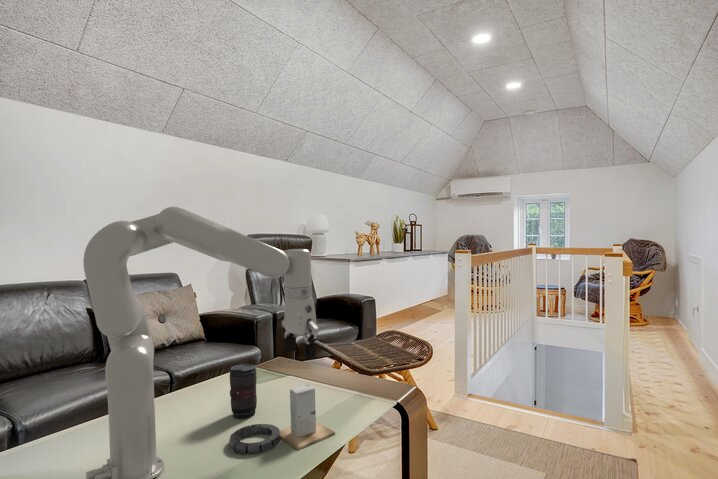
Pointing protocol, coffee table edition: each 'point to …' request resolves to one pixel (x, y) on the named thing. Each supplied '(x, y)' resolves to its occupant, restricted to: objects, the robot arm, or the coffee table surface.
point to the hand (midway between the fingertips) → (300, 354)
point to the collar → (257, 446)
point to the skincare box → (302, 410)
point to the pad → (305, 436)
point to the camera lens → (243, 390)
